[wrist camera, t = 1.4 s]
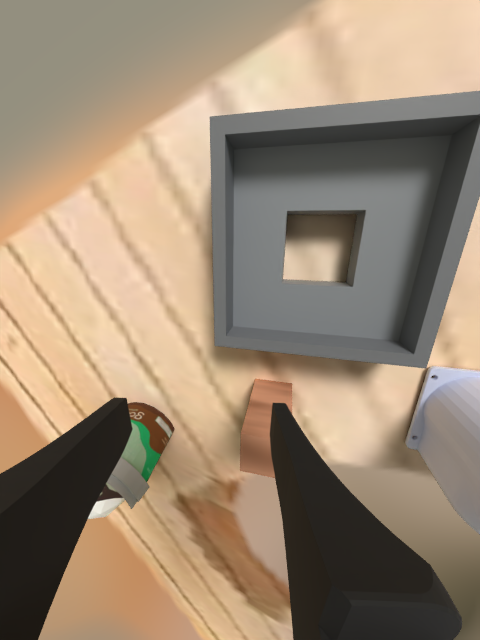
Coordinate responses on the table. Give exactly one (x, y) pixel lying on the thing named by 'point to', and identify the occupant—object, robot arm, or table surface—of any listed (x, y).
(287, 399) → the peg
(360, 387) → the table surface
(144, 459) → the food container
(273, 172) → the hole box
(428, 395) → the robot arm
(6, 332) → the table surface
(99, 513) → the ball
